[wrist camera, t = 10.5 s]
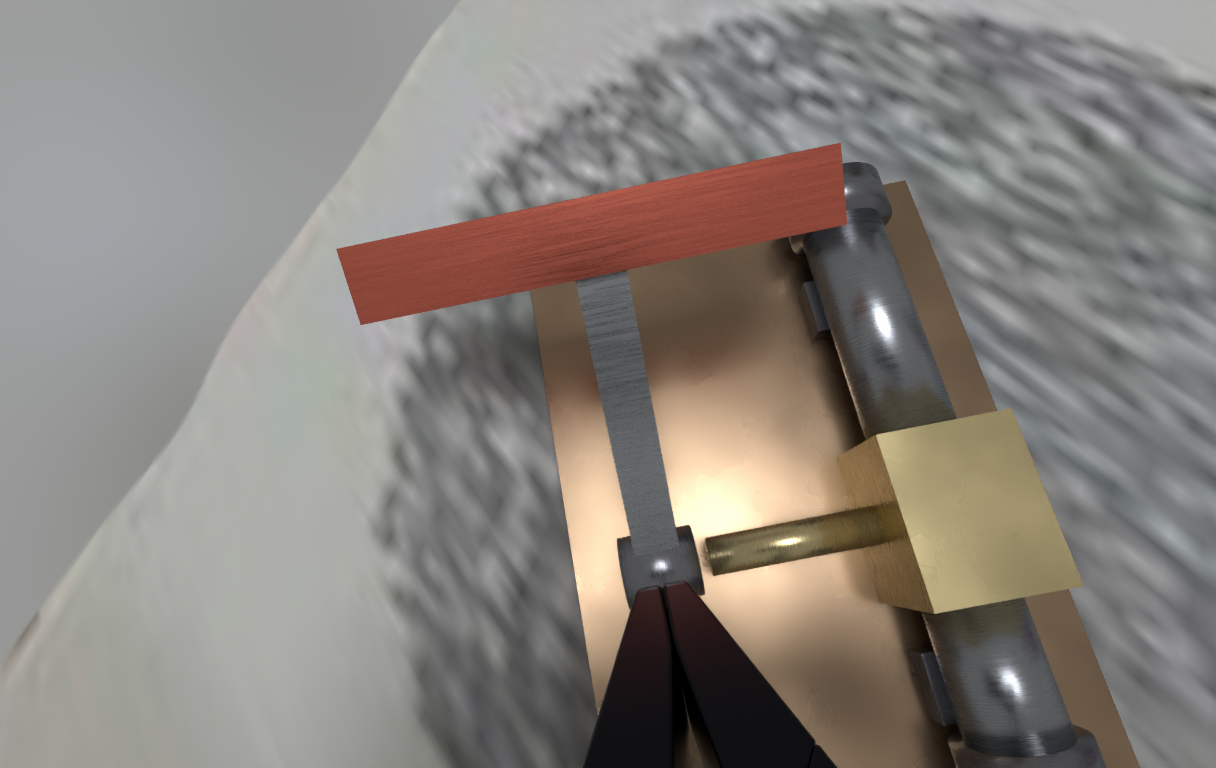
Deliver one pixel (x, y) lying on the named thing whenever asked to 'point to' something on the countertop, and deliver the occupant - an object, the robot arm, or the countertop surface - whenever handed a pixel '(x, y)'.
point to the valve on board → (842, 498)
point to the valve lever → (608, 297)
